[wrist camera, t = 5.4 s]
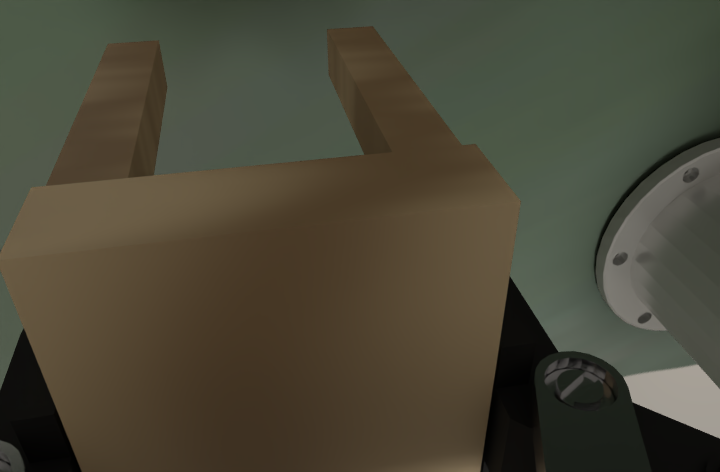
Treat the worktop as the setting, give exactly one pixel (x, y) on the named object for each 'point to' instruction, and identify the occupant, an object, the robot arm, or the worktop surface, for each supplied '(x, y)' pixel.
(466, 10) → the worktop surface
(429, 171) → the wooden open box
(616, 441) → the robot arm
